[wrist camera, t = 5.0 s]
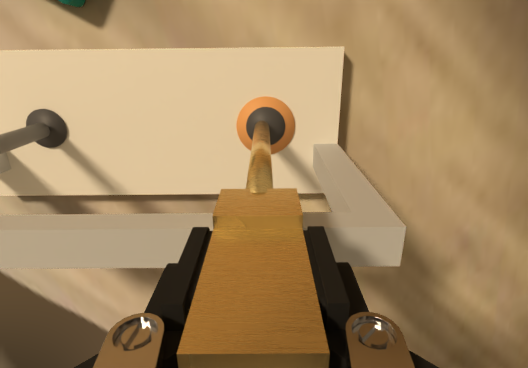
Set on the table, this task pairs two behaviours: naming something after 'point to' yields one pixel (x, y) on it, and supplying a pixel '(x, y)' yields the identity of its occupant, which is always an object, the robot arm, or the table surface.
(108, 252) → the white rack frame
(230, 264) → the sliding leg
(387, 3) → the table surface
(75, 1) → the digital multimeter
